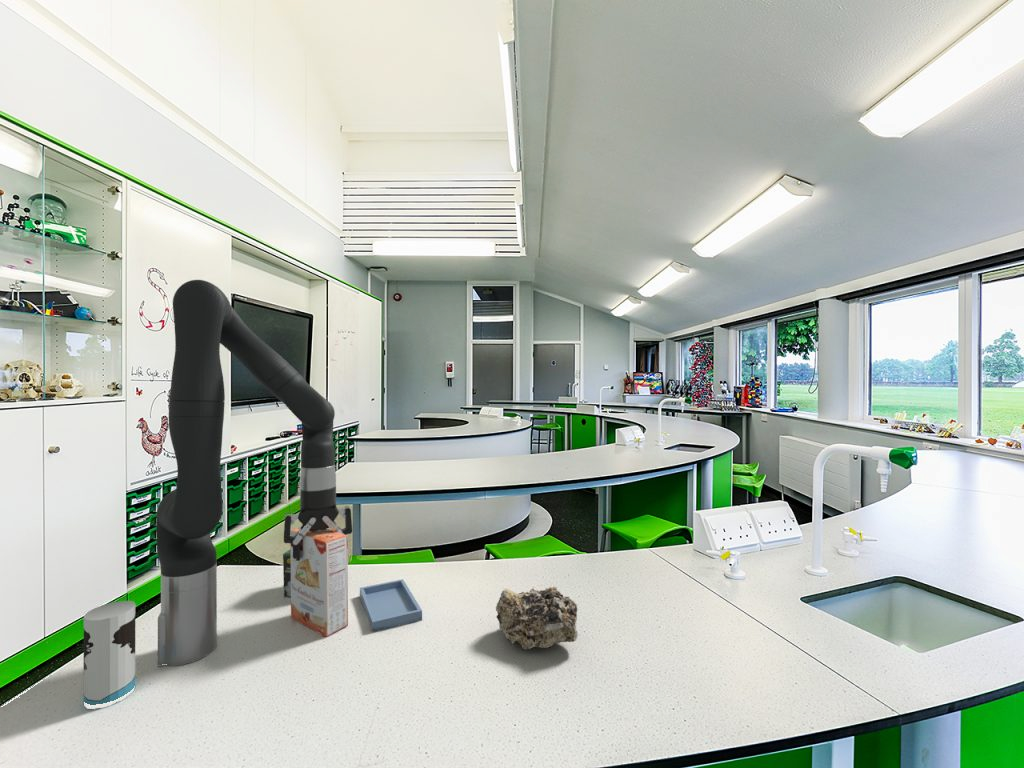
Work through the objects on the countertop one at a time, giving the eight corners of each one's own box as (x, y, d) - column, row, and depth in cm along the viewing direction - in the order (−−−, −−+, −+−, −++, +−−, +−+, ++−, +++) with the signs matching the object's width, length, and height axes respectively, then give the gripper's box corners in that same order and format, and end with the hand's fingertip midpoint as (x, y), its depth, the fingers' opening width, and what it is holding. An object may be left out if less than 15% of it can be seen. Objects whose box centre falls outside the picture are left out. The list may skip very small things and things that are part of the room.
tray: (372, 632, 98) (372, 622, 98) (359, 596, 115) (359, 587, 115) (422, 620, 103) (422, 610, 103) (403, 587, 120) (403, 579, 120)
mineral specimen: (576, 663, 87) (576, 612, 87) (488, 652, 91) (488, 603, 91) (580, 621, 102) (580, 578, 102) (504, 613, 106) (504, 571, 106)
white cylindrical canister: (144, 681, 82) (144, 599, 82) (115, 708, 75) (115, 619, 75) (104, 684, 81) (104, 601, 81) (72, 711, 74) (72, 621, 74)
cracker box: (288, 619, 103) (288, 529, 103) (313, 608, 108) (313, 522, 108) (324, 639, 95) (324, 541, 95) (349, 626, 100) (349, 533, 100)
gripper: (283, 492, 95) (283, 568, 95) (353, 485, 102) (354, 556, 102) (283, 485, 102) (283, 556, 102) (349, 478, 108) (349, 545, 108)
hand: (318, 556), depth 102 cm, fingers open, 8 cm apart
